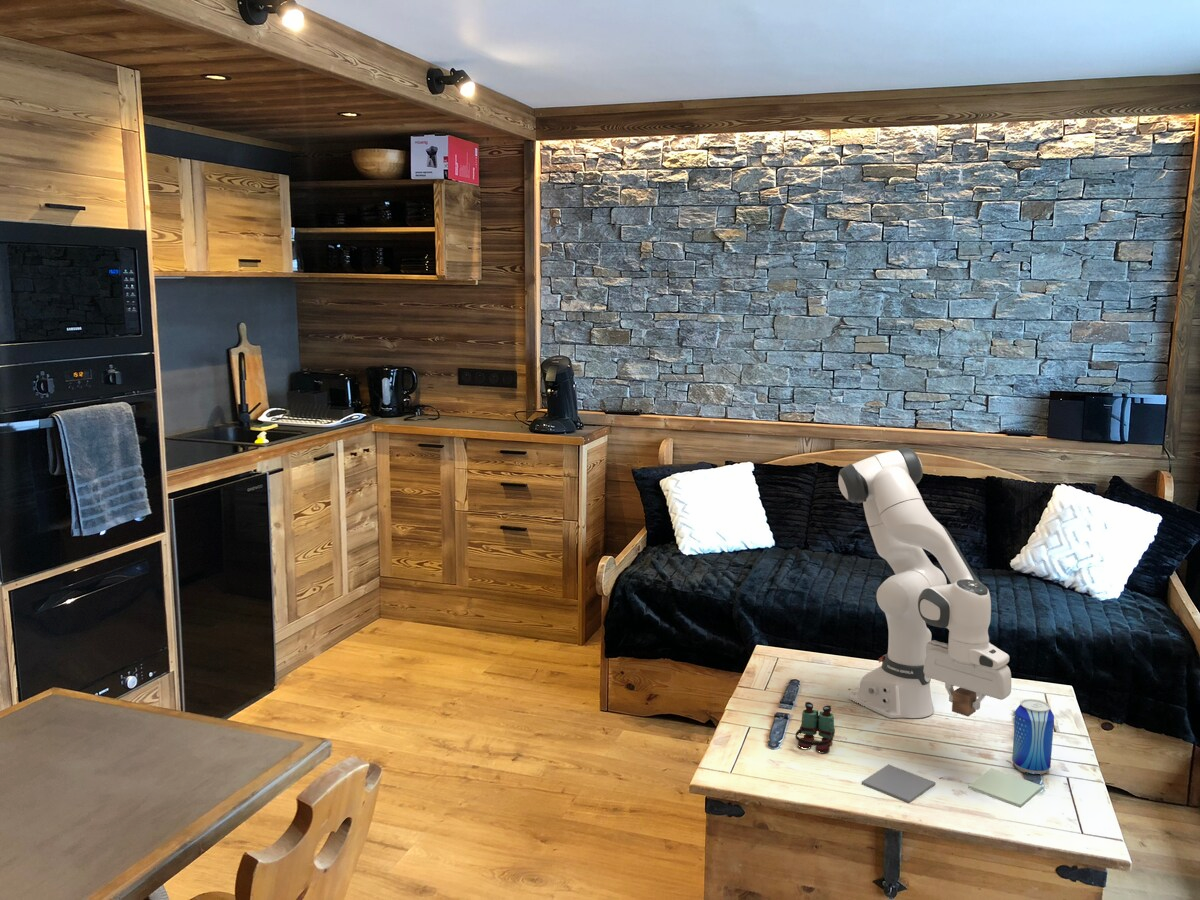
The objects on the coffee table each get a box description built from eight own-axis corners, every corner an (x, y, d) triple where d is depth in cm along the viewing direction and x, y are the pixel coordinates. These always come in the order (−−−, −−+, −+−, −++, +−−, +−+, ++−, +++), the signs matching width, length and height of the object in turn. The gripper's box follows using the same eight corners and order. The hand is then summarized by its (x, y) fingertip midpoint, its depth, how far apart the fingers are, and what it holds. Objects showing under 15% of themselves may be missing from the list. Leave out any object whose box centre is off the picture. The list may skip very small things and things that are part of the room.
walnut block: (951, 711, 230) (952, 691, 229) (959, 706, 233) (960, 686, 232) (968, 716, 227) (969, 696, 226) (975, 711, 230) (977, 691, 229)
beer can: (1054, 778, 227) (1059, 713, 225) (1015, 774, 229) (1020, 710, 226) (1045, 761, 235) (1049, 698, 233) (1008, 758, 237) (1012, 696, 234)
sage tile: (968, 787, 223) (968, 785, 223) (991, 770, 231) (991, 767, 231) (1020, 807, 214) (1020, 804, 214) (1042, 788, 222) (1042, 786, 222)
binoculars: (793, 716, 238) (802, 697, 247) (793, 754, 241) (802, 734, 250) (829, 722, 235) (838, 703, 243) (829, 761, 237) (837, 740, 246)
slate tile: (861, 783, 225) (861, 781, 225) (888, 766, 233) (888, 764, 233) (909, 803, 216) (909, 800, 216) (935, 784, 224) (935, 782, 224)
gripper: (920, 641, 233) (917, 695, 235) (1004, 664, 218) (1000, 722, 220) (933, 635, 237) (929, 688, 239) (1016, 657, 222) (1012, 714, 225)
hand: (964, 705), depth 230 cm, fingers closed on walnut block, 4 cm apart
